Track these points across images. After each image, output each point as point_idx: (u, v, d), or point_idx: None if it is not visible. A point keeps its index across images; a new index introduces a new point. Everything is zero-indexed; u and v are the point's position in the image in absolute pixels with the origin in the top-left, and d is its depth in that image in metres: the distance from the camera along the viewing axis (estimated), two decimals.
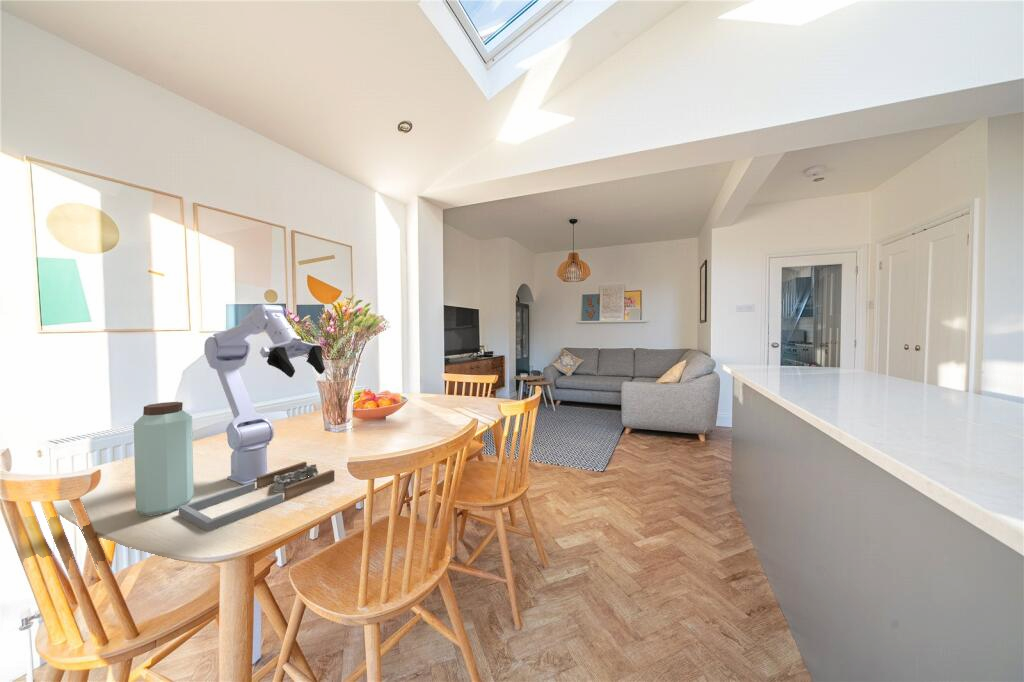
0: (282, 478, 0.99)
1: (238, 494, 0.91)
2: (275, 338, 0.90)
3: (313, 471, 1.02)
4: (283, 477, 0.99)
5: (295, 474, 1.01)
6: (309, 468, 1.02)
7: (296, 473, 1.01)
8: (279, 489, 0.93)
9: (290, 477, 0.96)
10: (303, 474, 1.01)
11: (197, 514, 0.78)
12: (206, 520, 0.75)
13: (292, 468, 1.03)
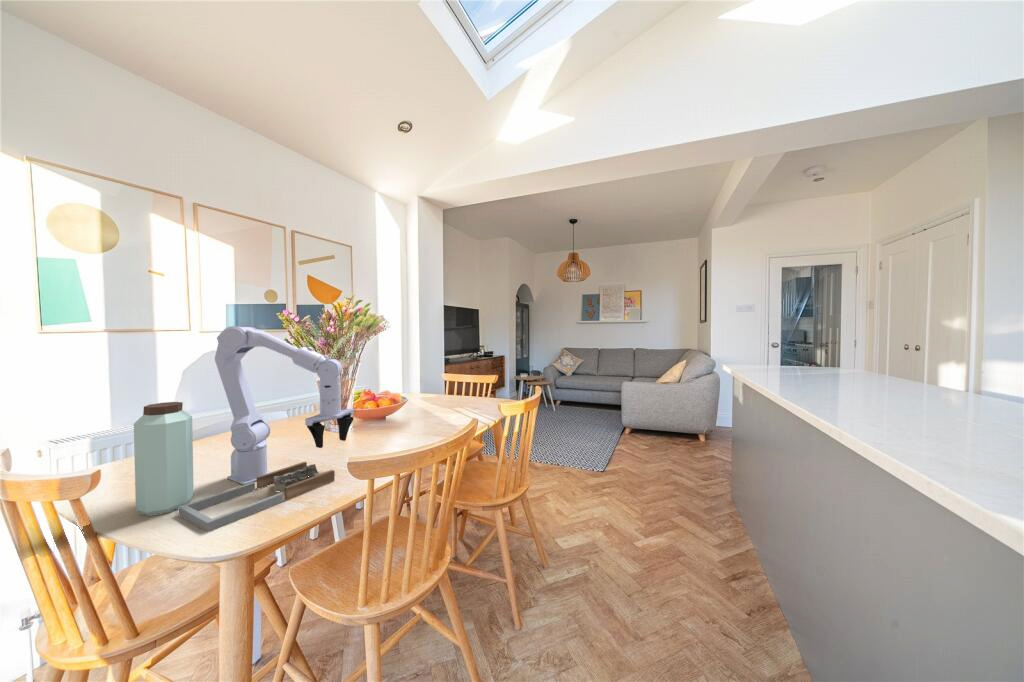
0: (281, 479, 0.98)
1: (238, 494, 0.91)
2: (323, 404, 1.04)
3: (312, 471, 1.02)
4: (282, 478, 0.99)
5: (294, 474, 1.00)
6: (308, 468, 1.02)
7: (295, 473, 1.01)
8: (280, 489, 0.93)
9: (290, 477, 0.96)
10: (302, 474, 1.01)
11: (197, 514, 0.78)
12: (206, 520, 0.75)
13: (292, 468, 1.03)
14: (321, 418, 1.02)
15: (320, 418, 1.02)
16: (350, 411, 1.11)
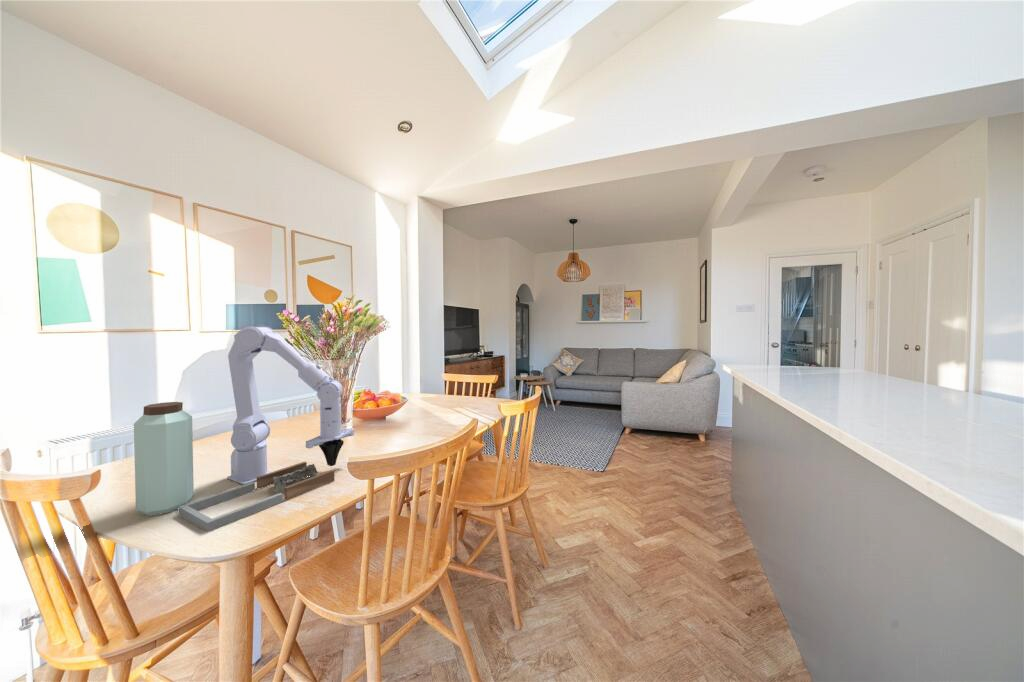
0: (280, 479, 0.98)
1: (238, 494, 0.91)
2: (323, 426, 1.04)
3: (312, 471, 1.02)
4: (281, 478, 0.98)
5: (293, 475, 1.00)
6: (308, 468, 1.02)
7: (294, 474, 1.00)
8: (281, 490, 0.93)
9: (291, 477, 0.96)
10: (301, 474, 1.00)
11: (197, 514, 0.78)
12: (206, 520, 0.75)
13: (292, 468, 1.03)
14: (321, 440, 1.02)
15: (320, 440, 1.02)
16: (350, 432, 1.11)
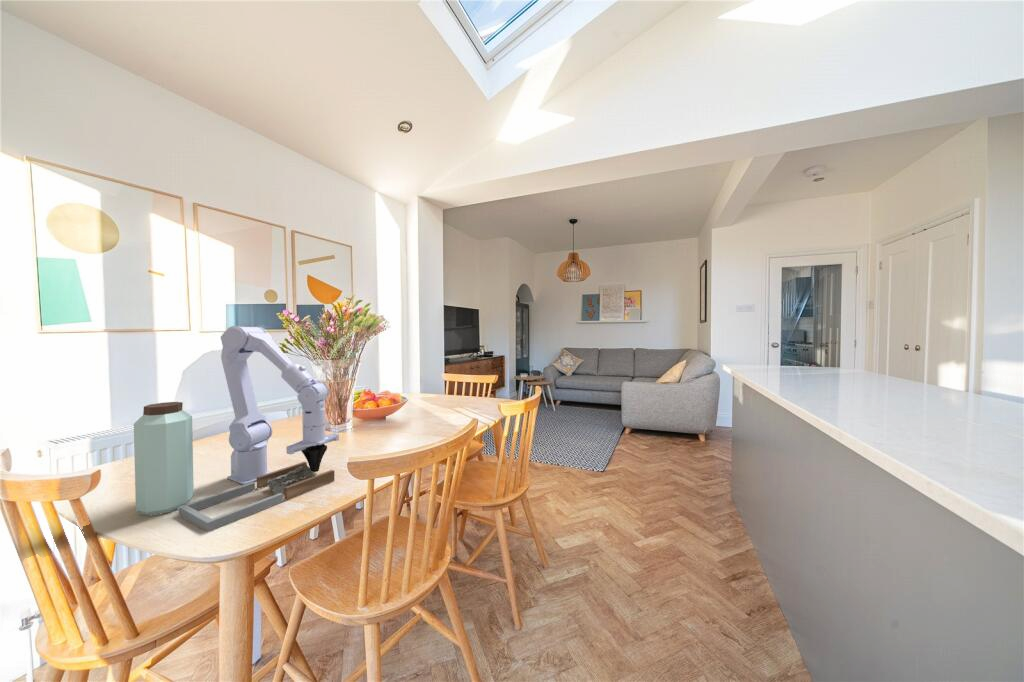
0: None
1: (238, 494, 0.91)
2: (305, 431, 0.99)
3: (305, 471, 1.02)
4: (275, 481, 0.96)
5: (287, 476, 0.99)
6: (301, 469, 1.01)
7: (288, 475, 0.99)
8: (281, 491, 0.92)
9: (288, 479, 0.95)
10: (296, 475, 0.99)
11: (197, 514, 0.78)
12: (206, 520, 0.75)
13: (292, 468, 1.03)
14: (303, 446, 0.98)
15: (302, 446, 0.97)
16: (335, 436, 1.07)
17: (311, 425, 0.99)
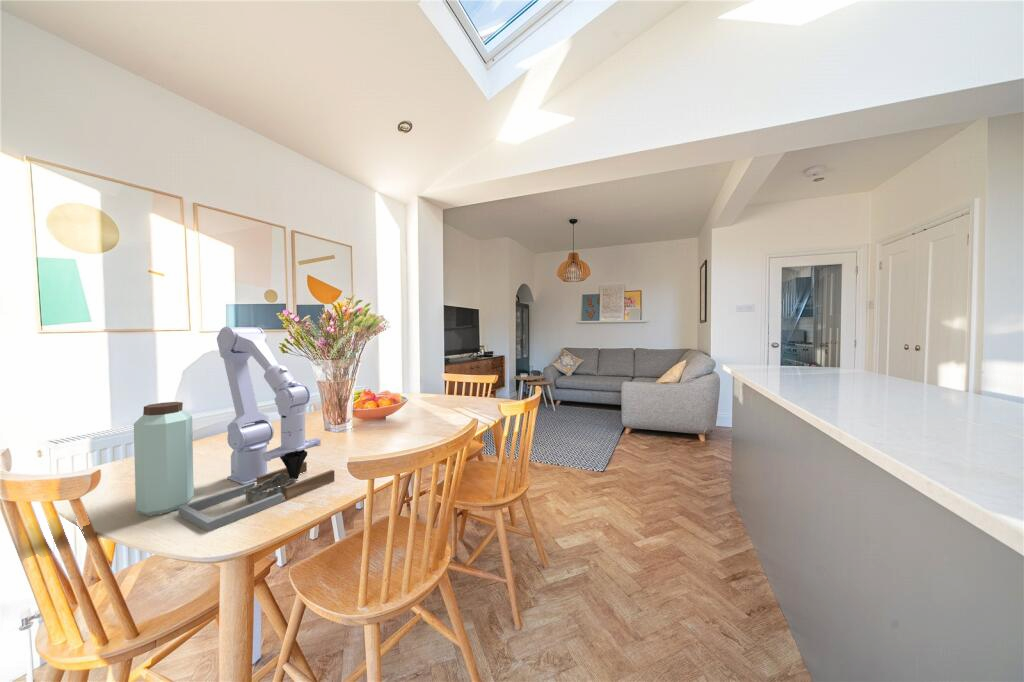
0: None
1: (238, 494, 0.91)
2: (283, 436, 0.94)
3: (282, 479, 0.96)
4: (251, 490, 0.90)
5: (263, 485, 0.93)
6: (278, 476, 0.96)
7: (264, 484, 0.93)
8: None
9: (267, 487, 0.90)
10: (273, 483, 0.94)
11: (197, 514, 0.78)
12: (206, 520, 0.75)
13: None
14: (281, 452, 0.92)
15: (280, 452, 0.92)
16: (316, 441, 1.02)
17: (286, 430, 0.94)
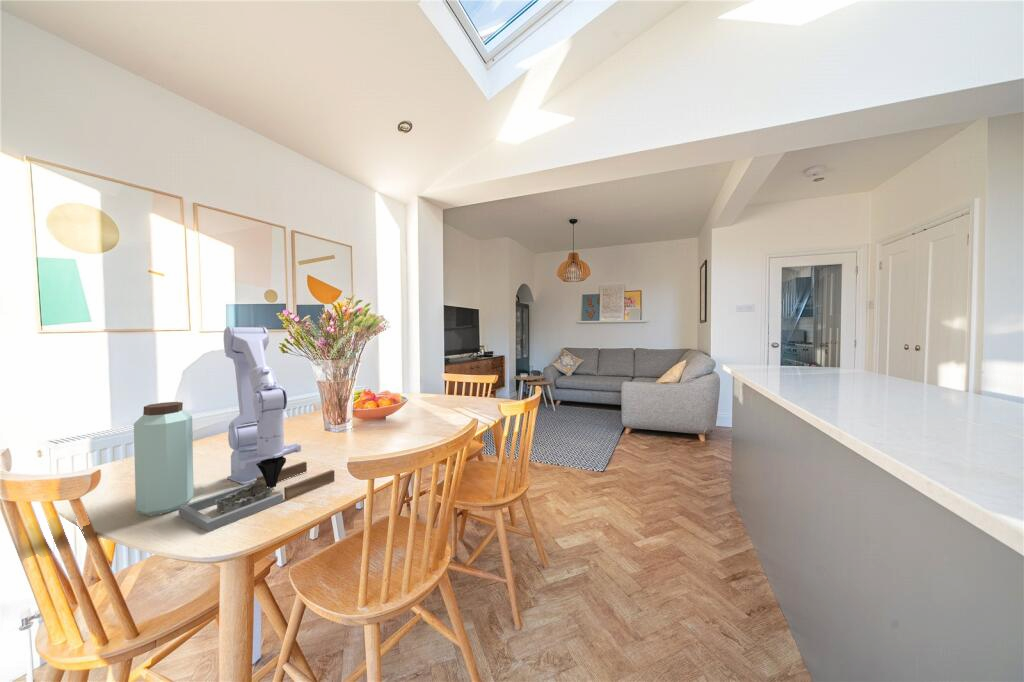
0: None
1: None
2: (260, 442, 0.89)
3: (259, 487, 0.91)
4: (224, 500, 0.85)
5: (237, 494, 0.88)
6: (254, 485, 0.91)
7: (238, 493, 0.88)
8: None
9: (241, 497, 0.85)
10: (248, 492, 0.89)
11: (197, 514, 0.78)
12: (206, 520, 0.75)
13: (292, 468, 1.03)
14: (256, 459, 0.87)
15: (255, 459, 0.87)
16: (296, 447, 0.96)
17: (259, 436, 0.89)
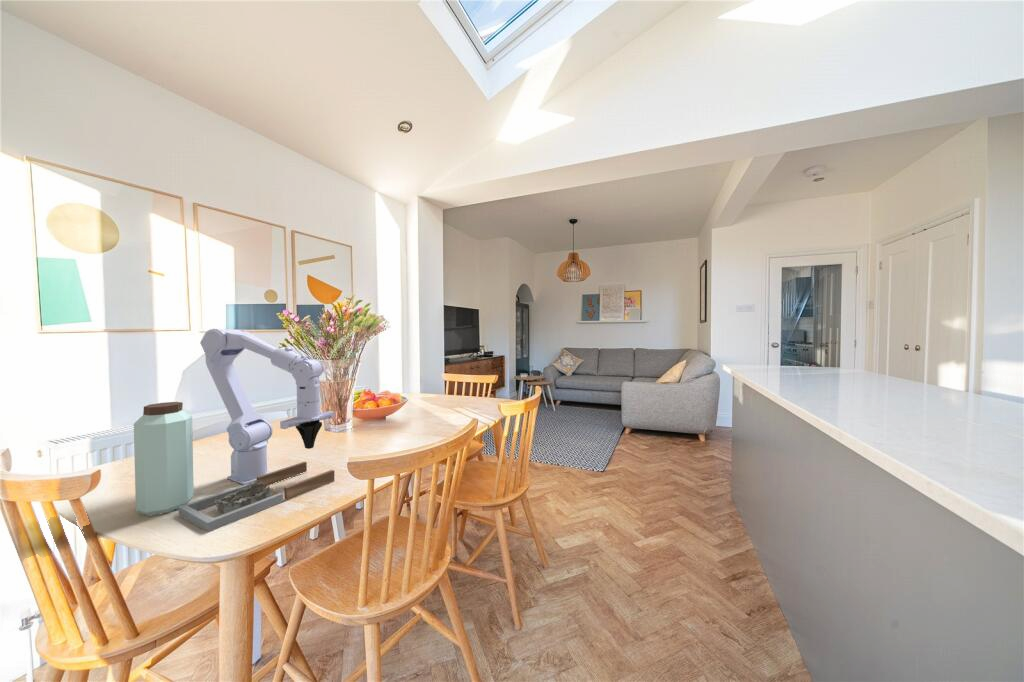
0: None
1: None
2: (299, 406, 0.99)
3: (258, 487, 0.91)
4: (223, 500, 0.85)
5: (237, 495, 0.88)
6: (254, 485, 0.91)
7: (238, 493, 0.88)
8: None
9: (240, 497, 0.85)
10: (248, 492, 0.89)
11: (197, 514, 0.78)
12: (206, 520, 0.75)
13: (292, 468, 1.03)
14: (297, 421, 0.97)
15: (296, 421, 0.97)
16: (330, 414, 1.06)
17: (305, 401, 0.99)
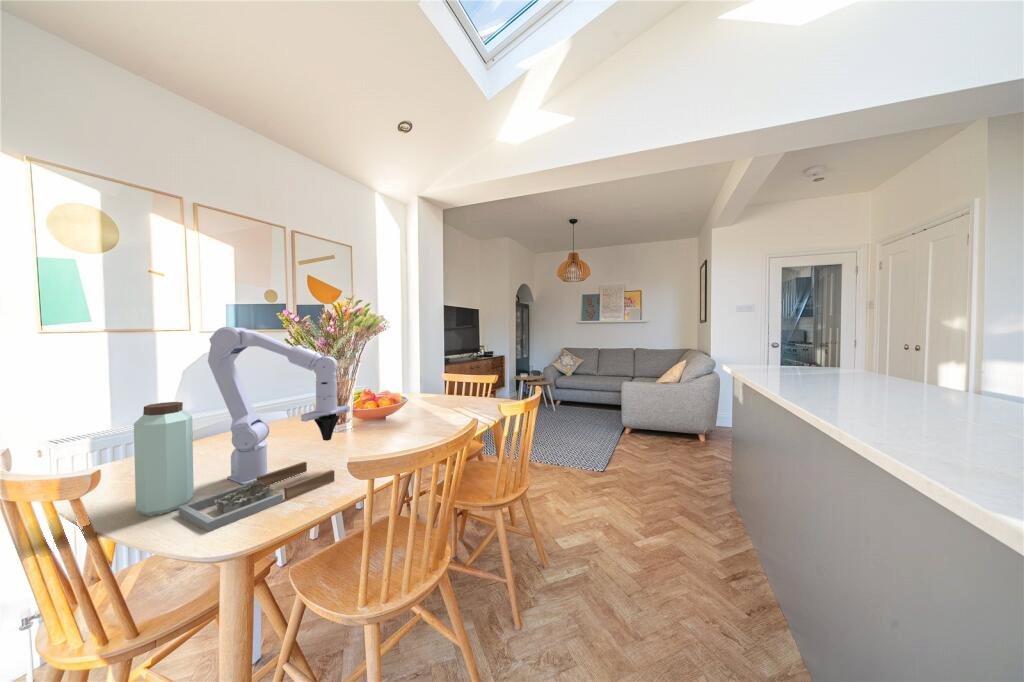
0: None
1: None
2: (318, 401, 1.05)
3: (258, 487, 0.92)
4: (223, 500, 0.85)
5: (236, 495, 0.88)
6: (253, 485, 0.91)
7: (238, 493, 0.88)
8: None
9: (240, 496, 0.85)
10: (247, 492, 0.89)
11: (197, 514, 0.78)
12: (206, 520, 0.75)
13: (292, 468, 1.03)
14: (317, 414, 1.03)
15: (316, 414, 1.03)
16: (346, 408, 1.12)
17: (327, 395, 1.05)
